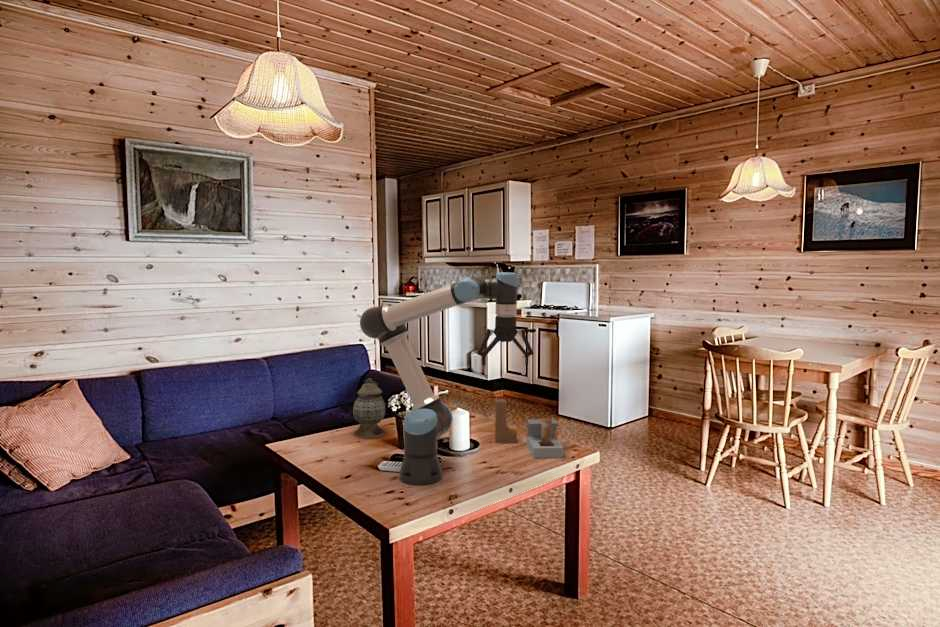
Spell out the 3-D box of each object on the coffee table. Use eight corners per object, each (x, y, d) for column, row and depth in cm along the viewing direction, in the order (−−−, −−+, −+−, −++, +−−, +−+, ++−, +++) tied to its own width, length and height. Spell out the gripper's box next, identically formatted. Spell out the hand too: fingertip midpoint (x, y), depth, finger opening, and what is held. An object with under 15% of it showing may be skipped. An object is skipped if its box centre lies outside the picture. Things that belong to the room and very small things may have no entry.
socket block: (533, 458, 224) (534, 431, 222) (526, 444, 239) (526, 419, 238) (563, 457, 224) (564, 430, 223) (554, 444, 240) (555, 418, 239)
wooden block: (515, 439, 246) (516, 399, 244) (516, 443, 241) (517, 401, 240) (495, 439, 246) (495, 398, 244) (495, 443, 241) (495, 401, 240)
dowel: (542, 455, 227) (542, 421, 225) (540, 452, 231) (540, 418, 229) (552, 455, 227) (552, 420, 226) (549, 451, 231) (550, 418, 230)
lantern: (347, 433, 254) (346, 377, 252) (374, 426, 264) (373, 373, 261) (364, 440, 244) (363, 383, 241) (391, 433, 253) (391, 378, 251)
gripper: (472, 316, 198) (471, 376, 200) (542, 317, 201) (541, 376, 203) (470, 314, 206) (469, 372, 208) (538, 314, 208) (536, 371, 210)
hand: (504, 374), depth 205 cm, fingers open, 13 cm apart
